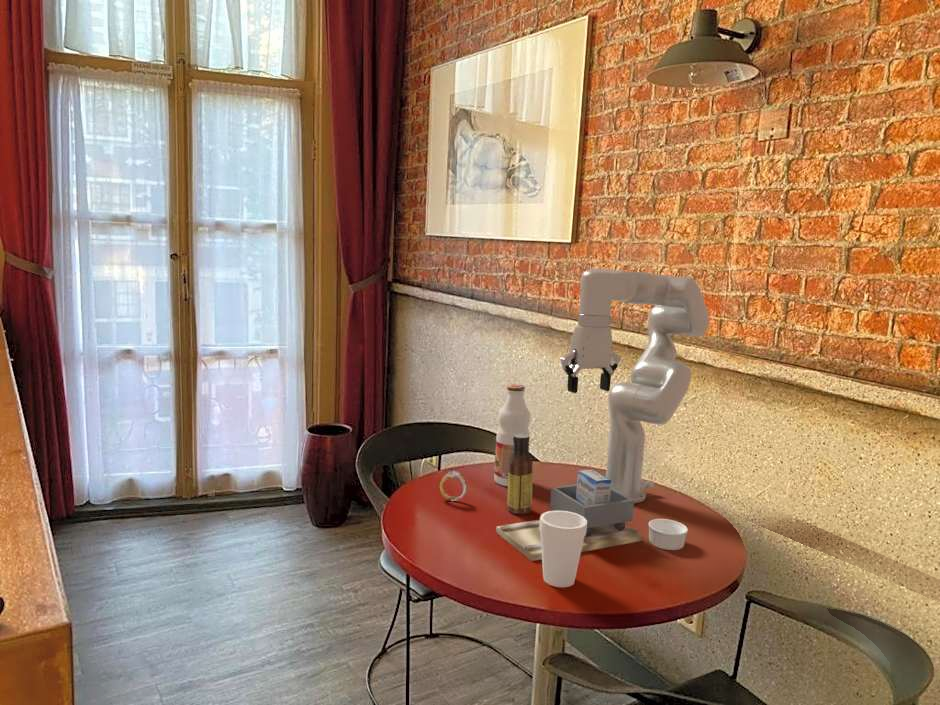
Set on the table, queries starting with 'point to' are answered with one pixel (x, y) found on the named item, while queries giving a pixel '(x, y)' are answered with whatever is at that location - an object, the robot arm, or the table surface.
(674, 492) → the table surface
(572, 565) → the foam cup
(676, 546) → the ramekin
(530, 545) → the track board
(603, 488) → the medicine box
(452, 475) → the bracelet
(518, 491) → the sauce bottle
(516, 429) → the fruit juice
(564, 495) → the grey storage bin
